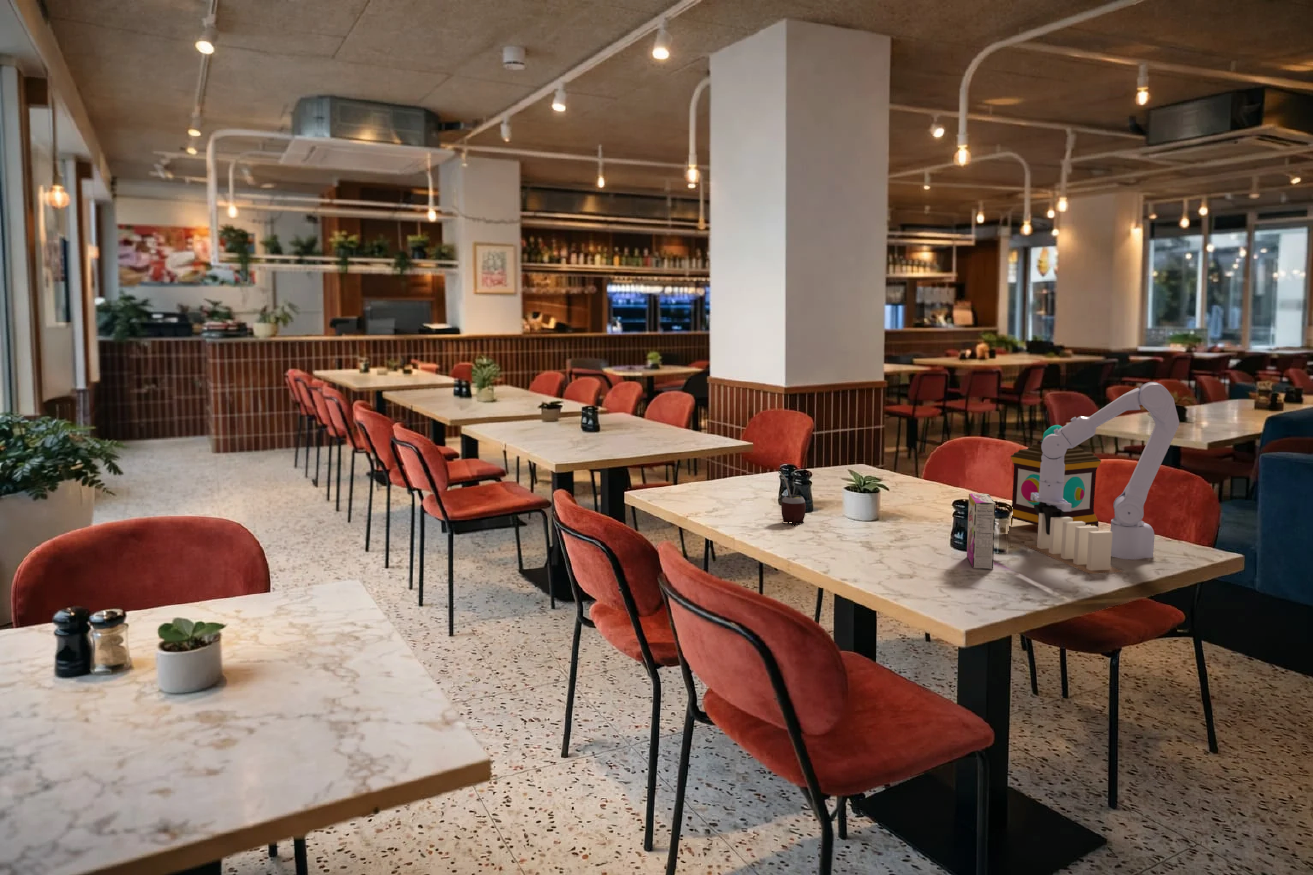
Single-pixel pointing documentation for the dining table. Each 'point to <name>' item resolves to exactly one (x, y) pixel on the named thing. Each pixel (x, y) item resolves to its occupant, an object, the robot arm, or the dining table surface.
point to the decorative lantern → (1075, 482)
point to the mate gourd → (792, 507)
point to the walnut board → (1070, 561)
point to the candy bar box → (981, 531)
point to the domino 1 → (1042, 533)
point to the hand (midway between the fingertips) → (1048, 533)
